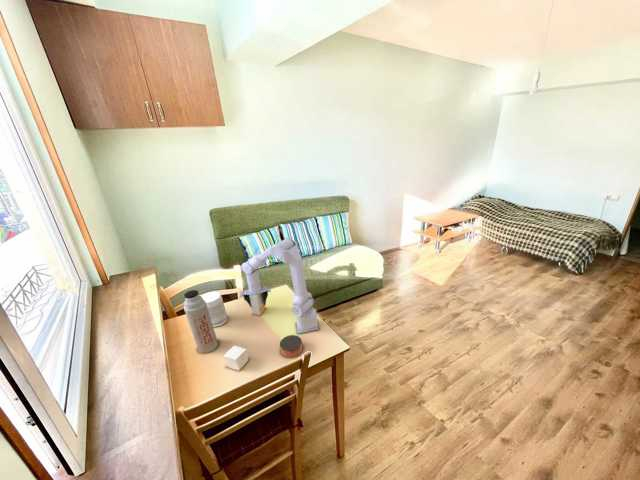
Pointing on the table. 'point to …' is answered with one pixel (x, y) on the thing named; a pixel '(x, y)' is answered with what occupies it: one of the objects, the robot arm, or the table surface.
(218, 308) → the supplement tub
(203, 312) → the thermos bottle
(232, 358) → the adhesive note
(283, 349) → the terracotta tin
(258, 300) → the cosmetic box
